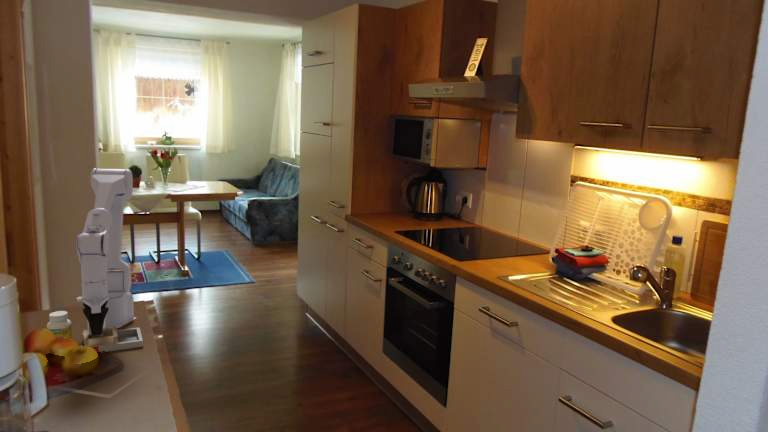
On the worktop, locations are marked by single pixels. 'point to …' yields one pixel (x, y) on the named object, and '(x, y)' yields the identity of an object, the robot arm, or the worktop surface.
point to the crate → (109, 339)
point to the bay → (124, 340)
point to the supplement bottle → (60, 324)
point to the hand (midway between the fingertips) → (96, 331)
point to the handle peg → (97, 335)
